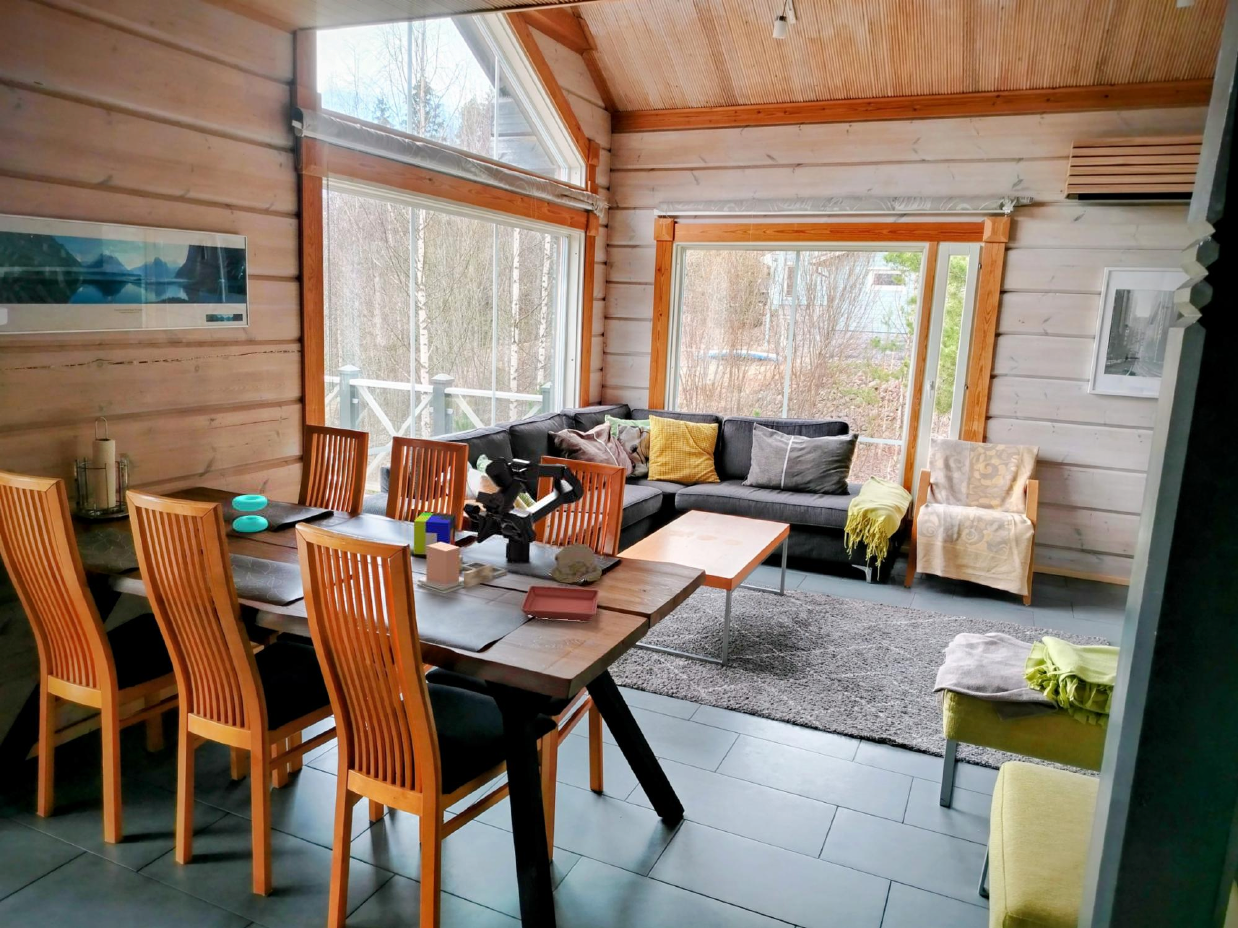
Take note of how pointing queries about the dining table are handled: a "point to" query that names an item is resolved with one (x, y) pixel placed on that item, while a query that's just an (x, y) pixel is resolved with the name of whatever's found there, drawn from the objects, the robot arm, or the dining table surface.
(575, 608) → the plant saucer
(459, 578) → the block sled
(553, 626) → the dining table surface
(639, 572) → the dining table surface
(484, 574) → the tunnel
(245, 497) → the donuts
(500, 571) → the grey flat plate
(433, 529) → the puzzle toy
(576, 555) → the ceramic model
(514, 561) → the robot arm
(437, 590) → the pad
